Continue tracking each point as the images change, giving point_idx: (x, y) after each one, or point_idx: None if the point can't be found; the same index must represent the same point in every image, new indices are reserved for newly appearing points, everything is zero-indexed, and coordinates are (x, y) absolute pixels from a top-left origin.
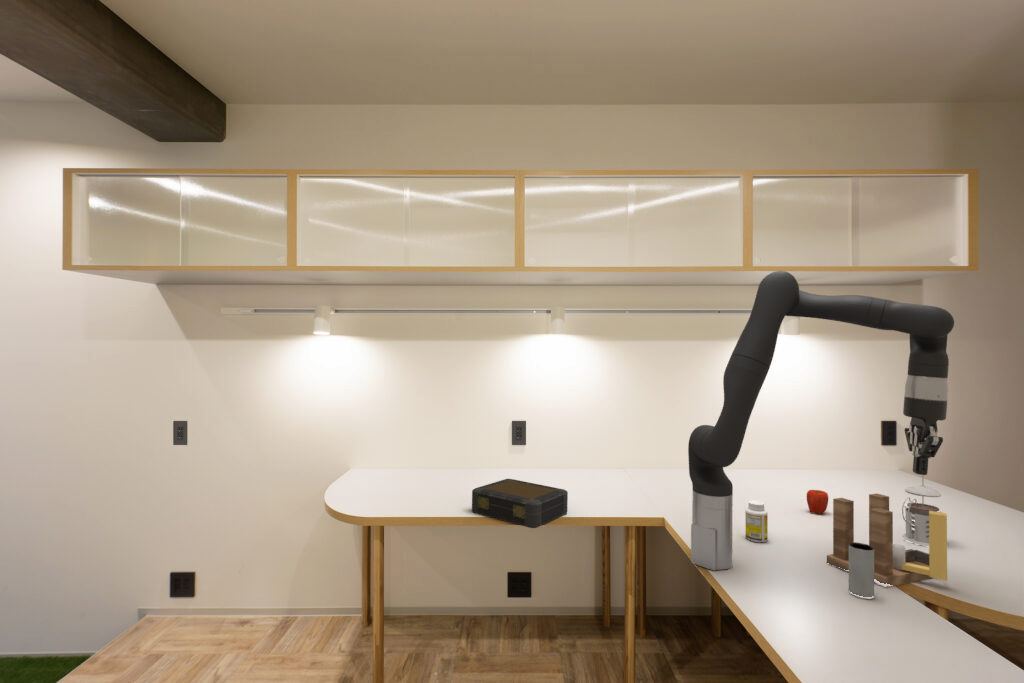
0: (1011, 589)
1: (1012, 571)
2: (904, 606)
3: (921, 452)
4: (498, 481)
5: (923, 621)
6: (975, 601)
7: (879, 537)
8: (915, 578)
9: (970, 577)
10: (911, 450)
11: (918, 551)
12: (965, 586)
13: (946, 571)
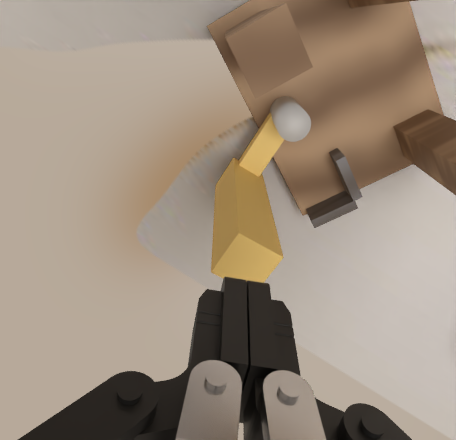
0: None
1: (337, 364)
2: (97, 8)
3: (106, 402)
4: None
5: (19, 6)
6: (170, 201)
7: (239, 26)
8: None
9: (299, 272)
10: (343, 415)
11: (344, 205)
12: None
13: (215, 192)
